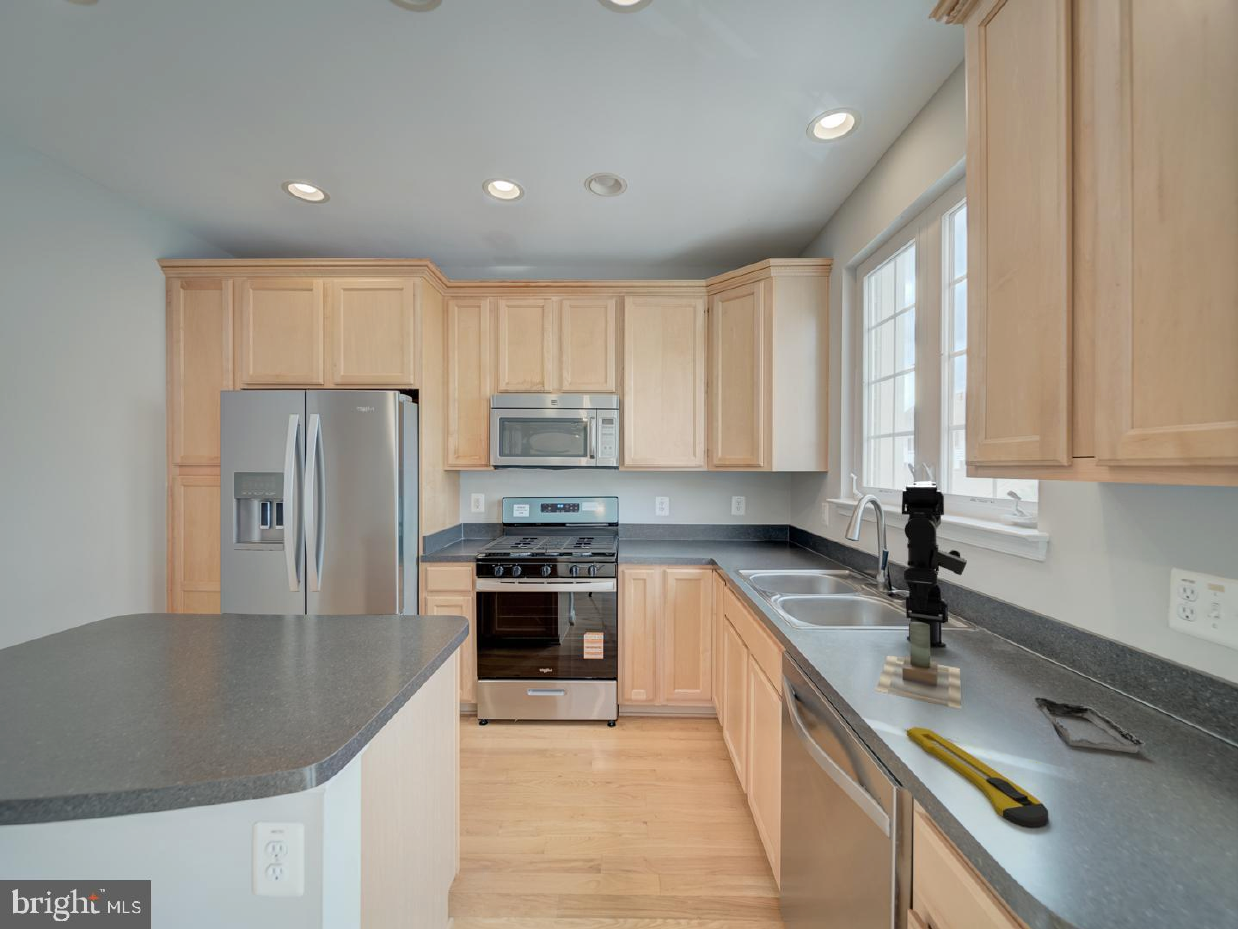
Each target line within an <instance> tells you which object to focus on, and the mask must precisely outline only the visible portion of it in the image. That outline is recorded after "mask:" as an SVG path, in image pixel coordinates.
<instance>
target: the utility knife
mask: <svg viewBox="0 0 1238 929" xmlns="http://www.w3.org/2000/svg"><path fill="white" fill-rule="evenodd" d="M906 735H907V737H908V738H910V739H911V740H912V741H914V742H915V743H916V744H918V745H920V746H921V747H922V748H923V750H924V751H926V752H927V753H928V754H932V755H934V756H935V757H937V758H938V759H940V760H941V761H942V762H944V763H945V764H947V765H948V766H950V767H951V768H953V769H954V770H955V771H956V772H958V773H959V774H961V776H963V777H964V778H966V779H968V780H969V781H970V782H971V783H973V785H975V787H977V788H978V789H979V790H981V791H982V793H984V795H985V796H986V798H987V799H988V800H989V801H990V803H991V805H992V807H993V808H994V810H995V812H996V814H998V815H999V816H1001V817H1002V818H1004V819H1006V820H1007V821H1008V822H1010V823H1012V824H1015V825H1018V826H1020V827H1022V828H1028V829H1029V828H1030V829H1038V828H1039V829H1040V828H1042V827H1046V826H1047V825H1048V824H1049V810H1048V808H1046V805H1044V803H1042V802H1041V801H1040V800H1039V799H1038V798H1037V797H1035V796H1034V795H1032V794H1031V793H1029V792H1028V791H1026V789H1024V788H1022V787H1021V786H1019V785H1017V783H1014V782H1013V781H1012V780H1010V779H1009V778H1007V777H1006V776H1004V775H1002V774H1001V773H1000V772H998V771H996V770H995V769H994V768H992V767H991V766H989V765H987V764H985V762H983V761H981V760H980V759H979V758H977V757H975V756H974V755H972V754H970V753H969V752H967V751H966V750H963V748H961V747H959V746H958V745H956V744H954V743H953V742H952V741H949V740H948V739H946V738H945V737H943V736H942V735H939V734H937V733H936V732H934V731H932V730H931V729H928V728H922V727H917V726H913V727H911V728H909V729H907V730H906Z"/></svg>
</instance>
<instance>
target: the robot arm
mask: <svg viewBox="0 0 1238 929" xmlns="http://www.w3.org/2000/svg"><path fill="white" fill-rule="evenodd" d="M901 497H902V498H901V499H902V500H901V515H907V516H908V518H907V522H906V523H905V525H904V534H905V537H906V538H907V544H906V545H907V546H906V547H907V549H908V550H907V561H906V562H907V564H906V565H907V566H906V568H905V569H904V571H903V580H904V582H905V583H906V585H907V587H908V590H909V591H908V594H906V595H905V608H906V609H905V610H906V611H905V612H906V619H910V622H922V623H926V624H928V625H930V648H931V647H933V648H934V647H947V644H946V642H943V641H942V638H943V637H942V624H945V623H949V605H948V604H947V603H946V601H945V598H942V590H941V588H940V586H939V585H938V575H939V571H940V568H943V569H945V570H948V571H951V572H953V573H954V574H955V575H959V576H962V574H963V572H964V571H965V570H964V569H965V568H966V566H967V563H968V562H967V561H968V560H966V558H964V557H961V552H960V551H958V550H955V549H951V550H950V551H948V552H947V551H943V550H941V549H939V544H938V543H937V529H938V528H939V526H940V525H941V524H942V516H944V515H945V495H944V494H943V492H942V491H941V490H938V486H937V484H936V482H934V481H916V482H913V485H912V484H911V485H909V484H908V485H906V486H905V489H902V495H901ZM910 622H909V623H908V636H906V639H907V640H908V641H910Z"/></svg>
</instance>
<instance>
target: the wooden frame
mask: <svg viewBox="0 0 1238 929" xmlns="http://www.w3.org/2000/svg"><path fill="white" fill-rule="evenodd" d="M904 659H905V657H899V656H892V655H887V656H886V660H885V662H884V666H883V669H882V671H881V674H880V677H879V680H878V684H877V687H876V691H878V692H880V693H881V692H882V693H884V694H885V693H886V694H889V695H890V694H891V695H893V696H894V695H895V696H900V697H904V698H909V699H912V700H913V699H914V700H917V701H922V702H927V703H931V704H936V705H940V706H944V707H950V708H953V709H957V710H962V692H961V691H962V690H961V689H962V688H961V669H960V668H959V667H954V666H949V665H943V664H938V663H937V666H938V674H937V687H935V686H930V685H926V684H921V683H916V682H911V681H906V680H903V672H902V668H903V663H904Z"/></svg>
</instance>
